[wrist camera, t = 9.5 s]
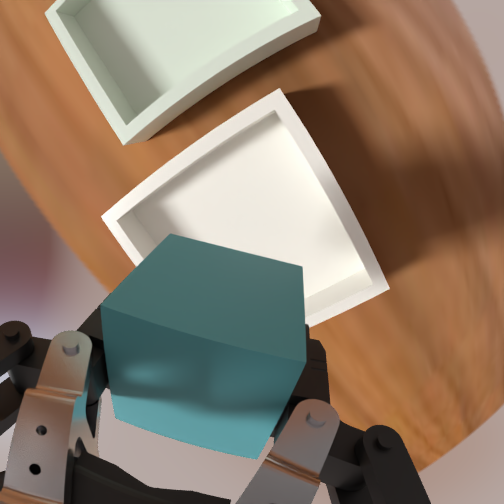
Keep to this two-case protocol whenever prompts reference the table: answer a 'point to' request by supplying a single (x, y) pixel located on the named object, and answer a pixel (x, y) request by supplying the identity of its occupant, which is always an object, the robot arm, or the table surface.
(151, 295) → the teal cube
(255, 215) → the cream tray
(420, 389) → the table surface
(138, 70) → the sage tray
